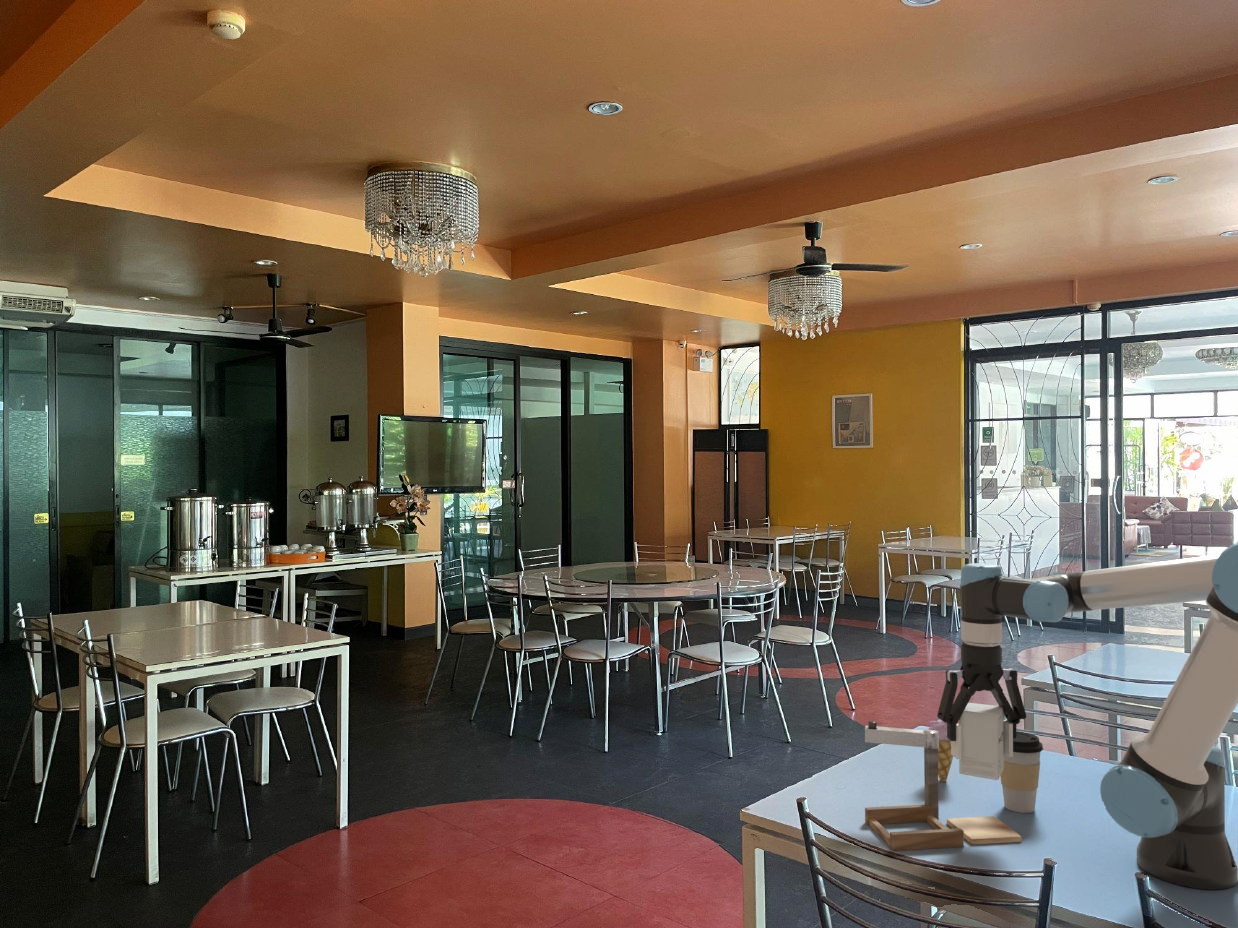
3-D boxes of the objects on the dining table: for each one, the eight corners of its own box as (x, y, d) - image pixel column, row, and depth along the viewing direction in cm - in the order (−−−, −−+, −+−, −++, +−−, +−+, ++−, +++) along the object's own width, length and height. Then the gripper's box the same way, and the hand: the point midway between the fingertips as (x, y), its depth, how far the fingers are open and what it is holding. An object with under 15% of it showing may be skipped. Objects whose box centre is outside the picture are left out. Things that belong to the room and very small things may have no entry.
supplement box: (999, 781, 169) (998, 714, 169) (958, 774, 173) (957, 709, 173) (1005, 769, 175) (1004, 705, 175) (965, 763, 179) (965, 700, 179)
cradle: (971, 846, 168) (970, 770, 168) (892, 850, 166) (892, 774, 166) (934, 814, 183) (933, 745, 183) (861, 818, 181) (861, 748, 181)
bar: (938, 744, 183) (938, 725, 183) (938, 749, 180) (938, 729, 180) (865, 738, 187) (865, 719, 187) (865, 742, 185) (864, 723, 185)
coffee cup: (1049, 817, 181) (1048, 744, 181) (1000, 814, 183) (999, 741, 183) (1037, 800, 190) (1036, 730, 190) (990, 797, 192) (989, 728, 192)
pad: (1021, 841, 170) (1021, 836, 170) (971, 844, 169) (971, 839, 169) (993, 820, 180) (993, 815, 180) (946, 823, 178) (946, 818, 178)
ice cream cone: (962, 779, 203) (962, 714, 203) (956, 787, 198) (956, 720, 198) (932, 774, 207) (932, 710, 207) (926, 782, 202) (925, 716, 202)
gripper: (1024, 637, 179) (1025, 747, 179) (918, 640, 177) (918, 751, 177) (1046, 644, 172) (1047, 759, 172) (935, 647, 169) (936, 764, 169)
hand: (981, 755), depth 174 cm, fingers closed on supplement box, 10 cm apart
